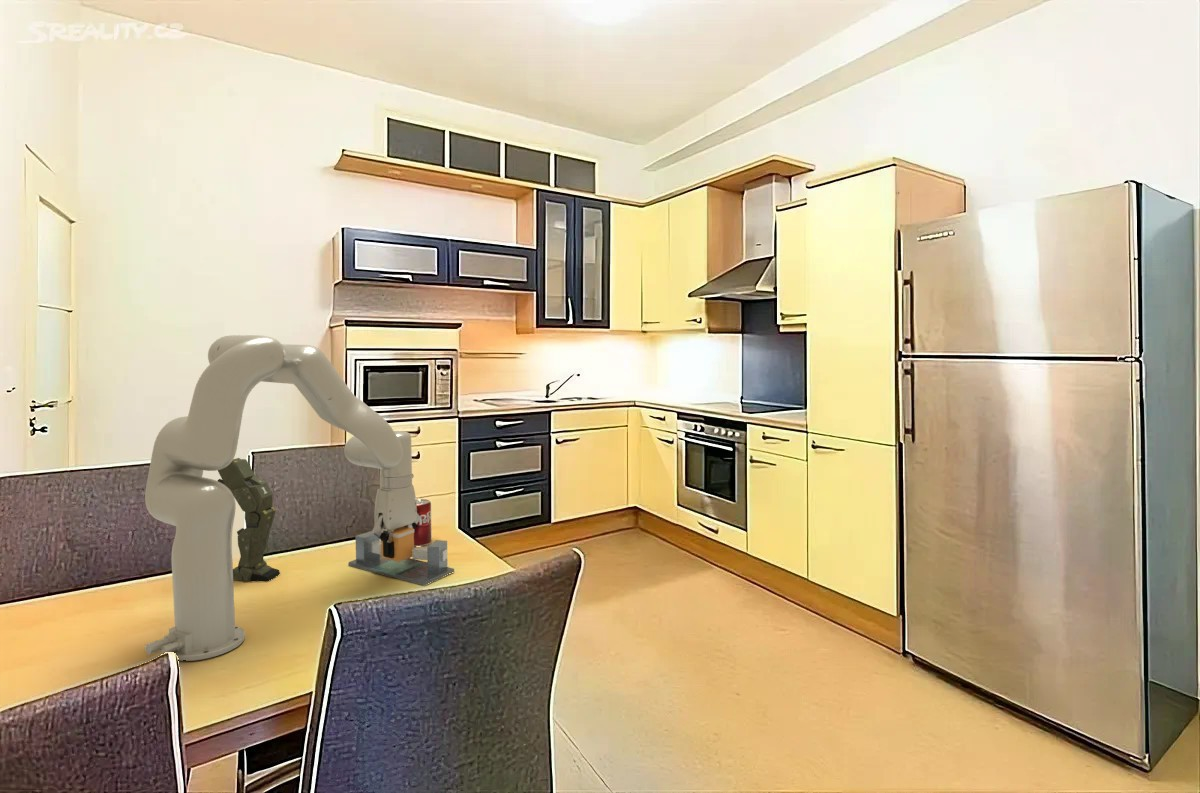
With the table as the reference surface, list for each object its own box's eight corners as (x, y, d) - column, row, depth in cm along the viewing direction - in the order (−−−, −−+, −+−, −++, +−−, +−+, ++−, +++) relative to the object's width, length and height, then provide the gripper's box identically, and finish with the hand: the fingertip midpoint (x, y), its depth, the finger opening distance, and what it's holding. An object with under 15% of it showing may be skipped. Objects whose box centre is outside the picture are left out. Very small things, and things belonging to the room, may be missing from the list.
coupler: (398, 562, 156) (398, 534, 155) (380, 557, 159) (380, 530, 158) (414, 555, 160) (414, 528, 159) (396, 551, 163) (396, 524, 162)
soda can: (399, 546, 178) (398, 503, 177) (414, 538, 185) (413, 497, 184) (422, 548, 176) (421, 506, 175) (436, 541, 183) (436, 499, 182)
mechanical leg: (297, 569, 157) (265, 451, 155) (279, 580, 150) (246, 456, 148) (246, 580, 159) (214, 462, 157) (226, 591, 151) (192, 468, 149)
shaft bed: (423, 586, 149) (422, 555, 149) (347, 566, 162) (346, 537, 161) (455, 572, 159) (455, 542, 158) (381, 554, 171) (380, 526, 171)
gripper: (410, 473, 167) (412, 541, 168) (357, 486, 152) (359, 561, 154) (432, 476, 163) (433, 546, 165) (379, 490, 148) (381, 567, 150)
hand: (397, 553), depth 159 cm, fingers closed on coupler, 5 cm apart
